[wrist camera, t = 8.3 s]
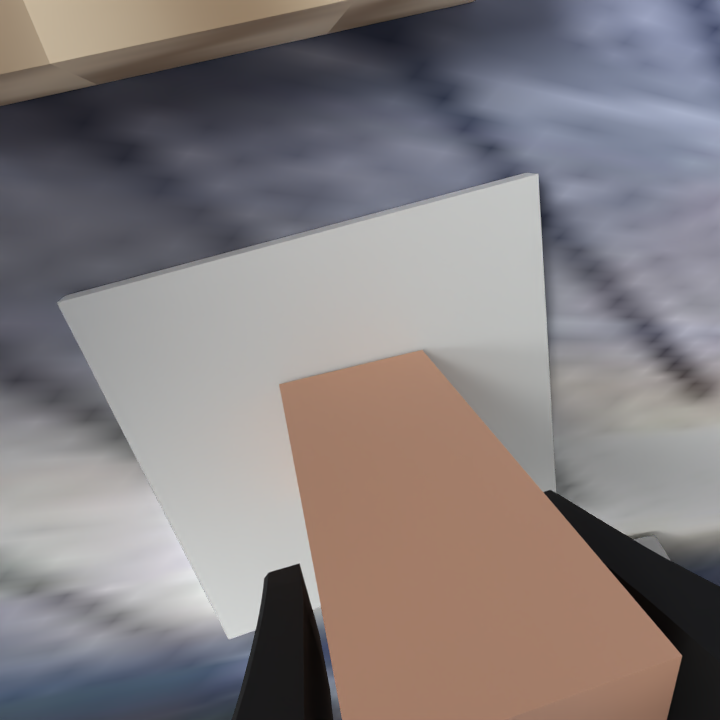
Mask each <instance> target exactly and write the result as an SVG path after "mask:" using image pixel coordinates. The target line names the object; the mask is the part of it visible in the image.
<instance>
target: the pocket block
mask: <svg viewBox="0 0 720 720" xmlns="http://www.w3.org/2000/svg"><path fill="white" fill-rule="evenodd" d="M474 1H476V0H0V106H3V105H8V104H12V103H17V102H21V101H26V100H30V99H35V98H39V97H44V96H49V95H53V94H58V93H62V92H67V91H71V90H76V89H80V88H85V87H89V86H94V85H98V84H103V83H107V82H112V81H117V80H121V79H126V78H130V77H135V76H139V75H144V74H148V73H153V72H157V71H162V70H166V69H171V68H175V67H180V66H185V65H189V64H194V63H198V62H203V61H207V60H212V59H216V58H221V57H225V56H230V55H234V54H239V53H243V52H248V51H253V50H257V49H262V48H266V47H271V46H275V45H280V44H284V43H289V42H293V41H298V40H302V39H307V38H311V37H316V36H321V35H325V34H330V33H334V32H339V31H343V30H348V29H352V28H357V27H361V26H366V25H370V24H375V23H379V22H384V21H389V20H393V19H398V18H402V17H407V16H411V15H416V14H420V13H425V12H429V11H434V10H438V9H443V8H447V7H452V6H457V5H461V4H466V3H470V2H474Z"/></svg>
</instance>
